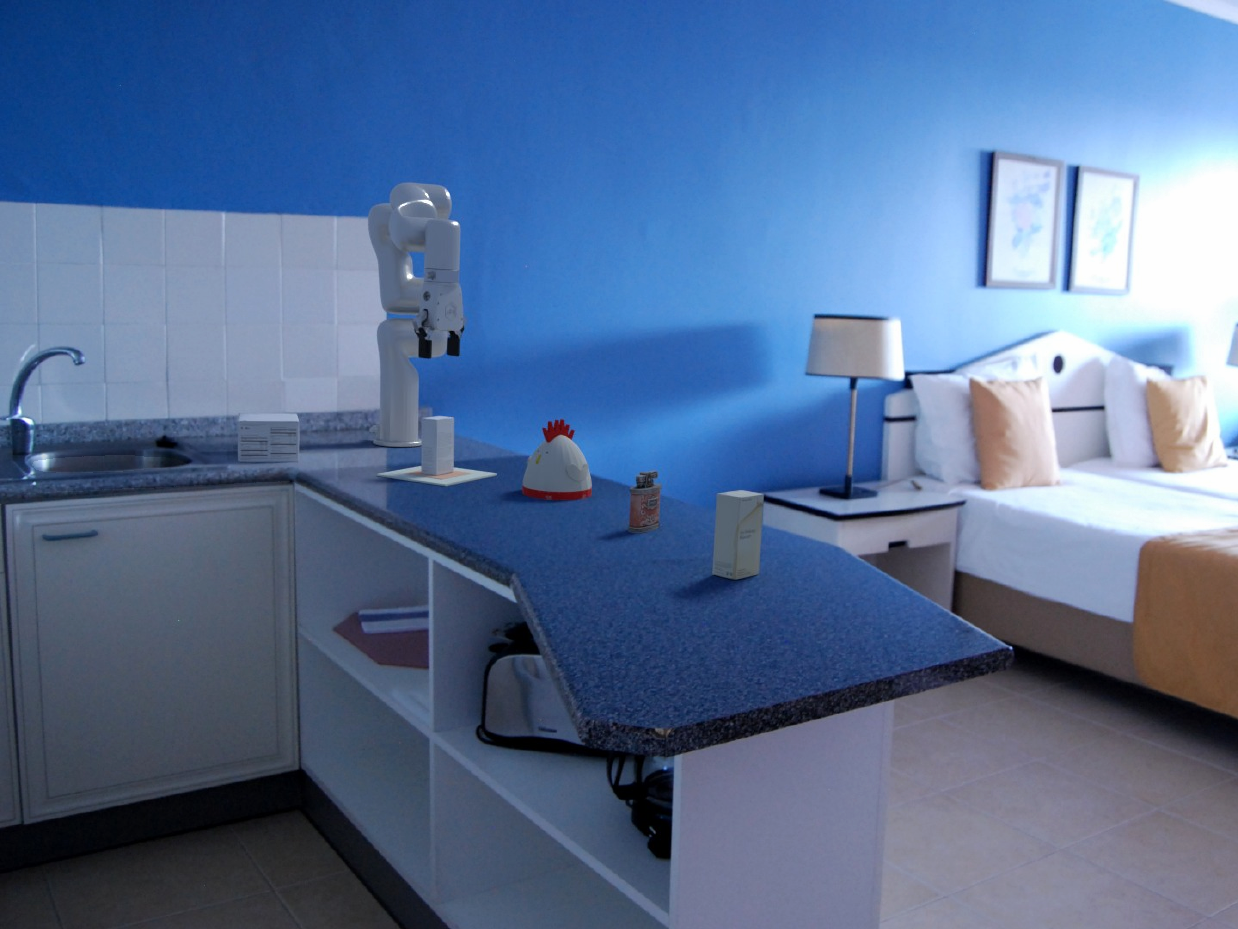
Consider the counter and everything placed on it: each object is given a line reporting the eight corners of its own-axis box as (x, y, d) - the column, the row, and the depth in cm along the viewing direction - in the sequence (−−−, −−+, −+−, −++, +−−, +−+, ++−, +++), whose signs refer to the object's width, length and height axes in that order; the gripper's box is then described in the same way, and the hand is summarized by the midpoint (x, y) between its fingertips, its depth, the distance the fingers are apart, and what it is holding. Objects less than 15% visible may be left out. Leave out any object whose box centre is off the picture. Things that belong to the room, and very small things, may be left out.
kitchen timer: (508, 491, 214) (510, 417, 212) (557, 485, 224) (560, 413, 222) (556, 503, 205) (558, 425, 203) (605, 495, 215) (608, 421, 213)
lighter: (640, 534, 181) (643, 475, 180) (623, 531, 183) (626, 473, 182) (663, 526, 188) (666, 470, 187) (647, 523, 190) (650, 468, 188)
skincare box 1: (438, 470, 232) (439, 415, 231) (454, 472, 230) (455, 417, 229) (420, 473, 227) (420, 417, 225) (435, 476, 225) (436, 419, 223)
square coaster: (376, 475, 225) (376, 473, 225) (430, 465, 241) (430, 463, 241) (445, 486, 217) (445, 483, 217) (496, 475, 232) (496, 473, 232)
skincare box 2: (735, 581, 154) (740, 497, 152) (710, 574, 156) (715, 493, 155) (760, 574, 158) (765, 493, 156) (735, 568, 161) (740, 488, 159)
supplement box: (300, 462, 239) (300, 420, 237) (237, 463, 235) (237, 420, 233) (297, 451, 255) (297, 412, 253) (238, 451, 250) (238, 411, 249)
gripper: (429, 278, 222) (427, 360, 225) (479, 279, 237) (476, 356, 240) (401, 276, 226) (399, 357, 229) (452, 277, 240) (450, 353, 244)
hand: (439, 356), depth 235 cm, fingers open, 9 cm apart
